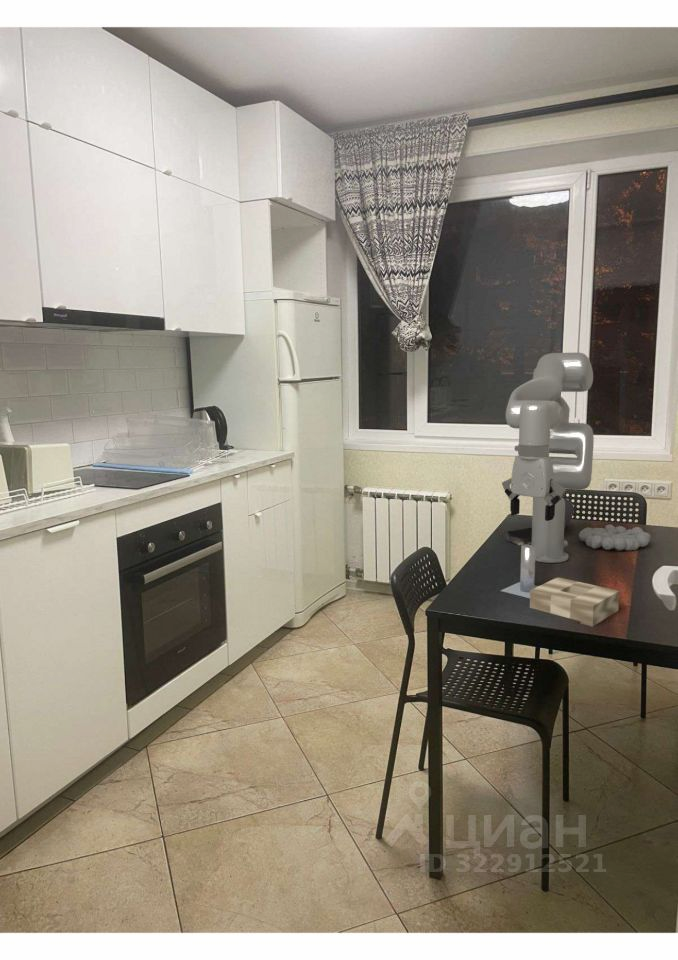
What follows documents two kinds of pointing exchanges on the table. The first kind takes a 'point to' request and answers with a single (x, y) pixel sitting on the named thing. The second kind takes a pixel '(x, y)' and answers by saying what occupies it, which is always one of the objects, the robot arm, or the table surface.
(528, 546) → the peg
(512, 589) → the mat
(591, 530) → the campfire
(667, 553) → the table surface
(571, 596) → the hole block
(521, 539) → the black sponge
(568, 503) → the bluetooth speaker
